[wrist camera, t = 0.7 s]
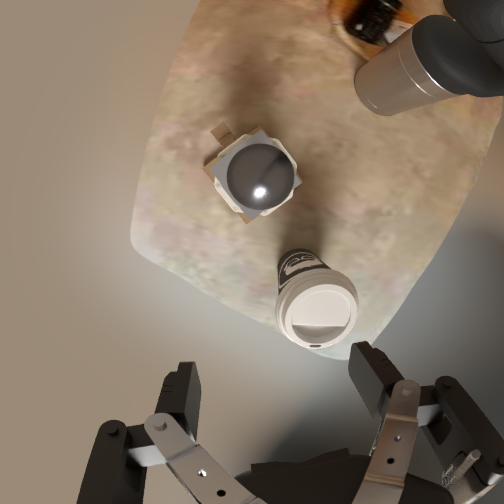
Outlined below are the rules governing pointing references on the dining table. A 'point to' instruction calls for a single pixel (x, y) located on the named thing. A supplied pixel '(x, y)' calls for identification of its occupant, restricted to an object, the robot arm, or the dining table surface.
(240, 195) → the plunger
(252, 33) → the dining table surface
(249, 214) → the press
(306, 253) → the coffee cup
